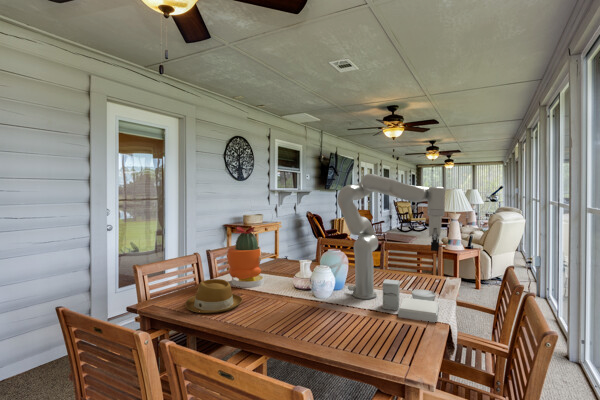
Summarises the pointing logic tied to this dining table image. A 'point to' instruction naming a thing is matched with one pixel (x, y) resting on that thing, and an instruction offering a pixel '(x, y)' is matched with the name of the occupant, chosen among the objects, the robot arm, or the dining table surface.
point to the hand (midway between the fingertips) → (435, 248)
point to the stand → (419, 309)
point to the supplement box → (391, 294)
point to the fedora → (213, 297)
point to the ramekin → (423, 295)
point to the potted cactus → (245, 260)
